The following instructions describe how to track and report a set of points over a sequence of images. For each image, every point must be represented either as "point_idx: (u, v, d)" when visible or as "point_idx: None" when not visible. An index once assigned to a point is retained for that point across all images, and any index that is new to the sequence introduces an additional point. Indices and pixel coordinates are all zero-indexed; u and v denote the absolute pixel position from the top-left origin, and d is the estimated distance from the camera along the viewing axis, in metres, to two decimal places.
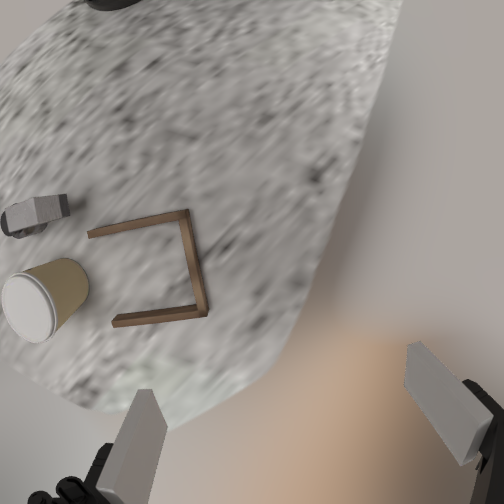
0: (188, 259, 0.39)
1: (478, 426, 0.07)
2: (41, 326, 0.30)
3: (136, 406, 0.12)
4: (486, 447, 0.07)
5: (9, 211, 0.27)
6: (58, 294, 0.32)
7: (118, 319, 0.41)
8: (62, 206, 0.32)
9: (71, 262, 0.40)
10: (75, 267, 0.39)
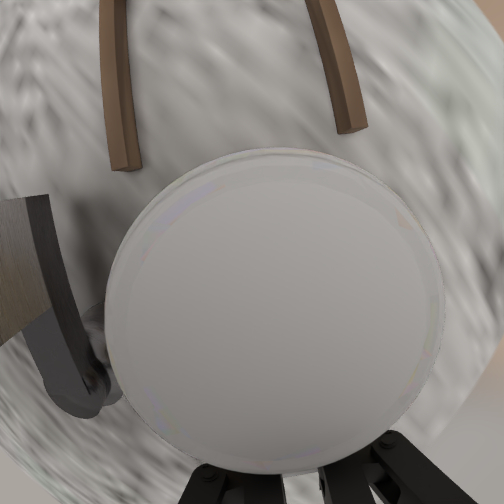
0: None
1: None
2: (367, 250, 0.07)
3: None
4: (318, 471, 0.09)
5: None
6: None
7: (345, 114, 0.15)
8: None
9: None
10: None
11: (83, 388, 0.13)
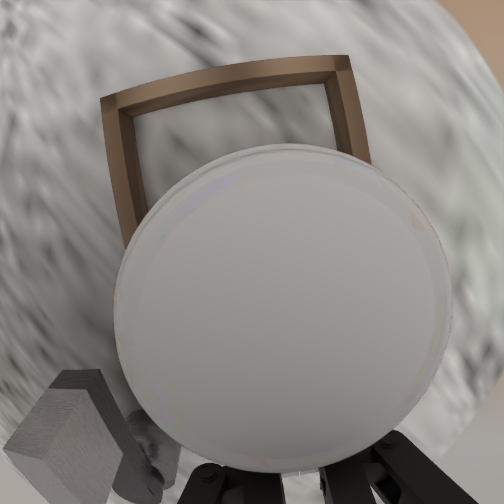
0: (207, 81, 0.14)
1: None
2: (381, 248, 0.07)
3: None
4: (319, 471, 0.09)
5: None
6: None
7: None
8: (69, 384, 0.13)
9: None
10: None
11: (148, 492, 0.15)
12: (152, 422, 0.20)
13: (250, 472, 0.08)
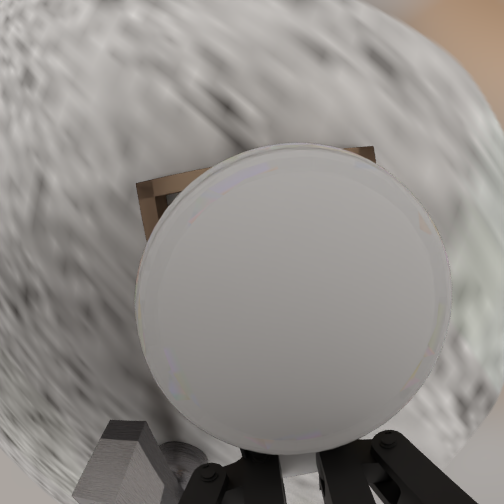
0: None
1: None
2: (390, 245, 0.07)
3: None
4: (318, 471, 0.09)
5: None
6: None
7: None
8: (121, 435, 0.16)
9: None
10: None
11: None
12: (182, 453, 0.23)
13: (251, 472, 0.08)
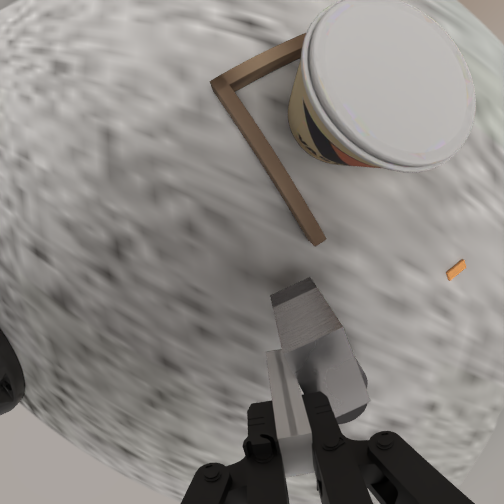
0: (287, 50, 0.19)
1: (292, 439, 0.10)
2: (418, 30, 0.10)
3: (274, 364, 0.15)
4: (315, 472, 0.09)
5: None
6: None
7: None
8: (294, 294, 0.18)
9: None
10: None
11: None
12: None
13: (254, 472, 0.08)
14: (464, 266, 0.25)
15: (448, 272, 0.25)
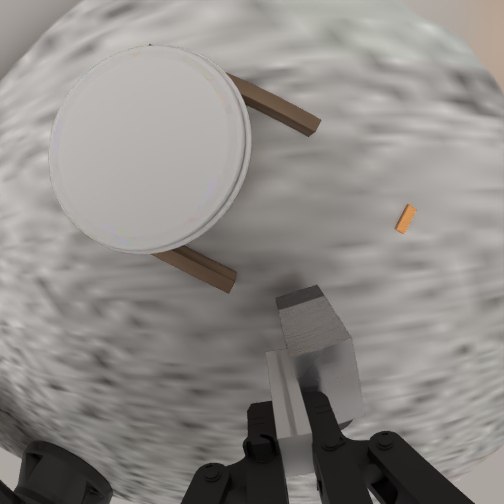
0: None
1: (292, 439, 0.10)
2: (130, 77, 0.11)
3: (274, 364, 0.15)
4: (315, 472, 0.09)
5: None
6: None
7: (302, 126, 0.21)
8: (300, 300, 0.18)
9: None
10: None
11: None
12: None
13: (254, 472, 0.08)
14: (413, 210, 0.24)
15: (397, 227, 0.24)
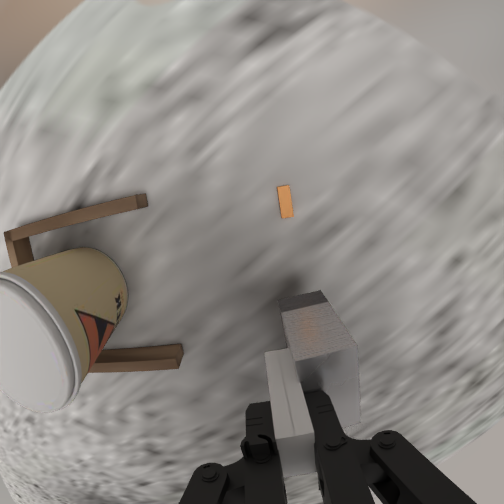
0: None
1: (294, 438, 0.10)
2: None
3: (272, 364, 0.15)
4: (317, 471, 0.09)
5: None
6: None
7: None
8: (304, 304, 0.18)
9: None
10: None
11: None
12: None
13: (252, 472, 0.08)
14: (286, 188, 0.23)
15: (282, 216, 0.23)
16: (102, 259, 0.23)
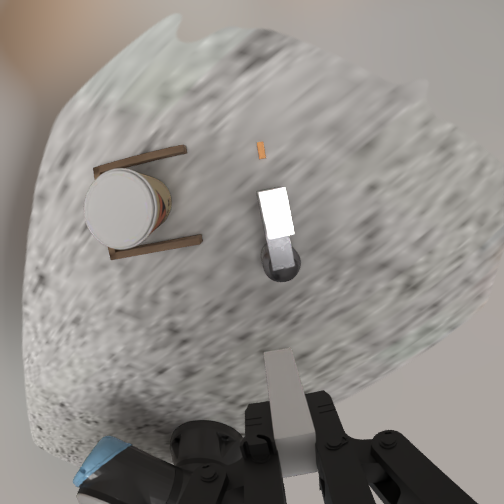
0: None
1: (295, 438, 0.10)
2: (100, 191, 0.32)
3: (271, 364, 0.15)
4: (318, 471, 0.09)
5: (272, 231, 0.33)
6: None
7: (178, 153, 0.41)
8: (267, 189, 0.37)
9: None
10: None
11: (292, 262, 0.39)
12: (262, 253, 0.45)
13: (251, 472, 0.08)
14: (261, 143, 0.42)
15: (259, 157, 0.43)
16: (159, 181, 0.42)
